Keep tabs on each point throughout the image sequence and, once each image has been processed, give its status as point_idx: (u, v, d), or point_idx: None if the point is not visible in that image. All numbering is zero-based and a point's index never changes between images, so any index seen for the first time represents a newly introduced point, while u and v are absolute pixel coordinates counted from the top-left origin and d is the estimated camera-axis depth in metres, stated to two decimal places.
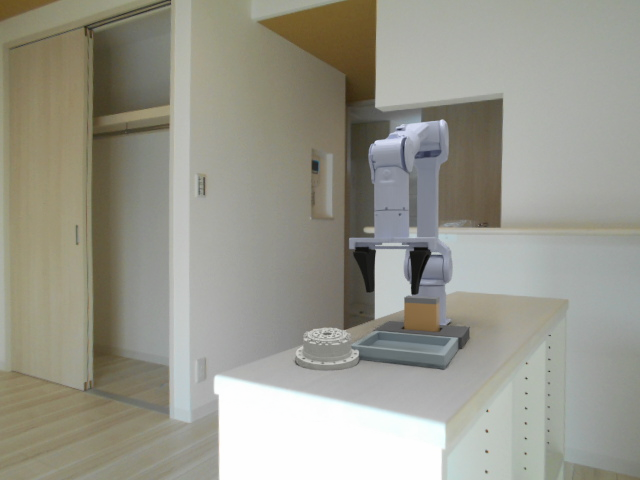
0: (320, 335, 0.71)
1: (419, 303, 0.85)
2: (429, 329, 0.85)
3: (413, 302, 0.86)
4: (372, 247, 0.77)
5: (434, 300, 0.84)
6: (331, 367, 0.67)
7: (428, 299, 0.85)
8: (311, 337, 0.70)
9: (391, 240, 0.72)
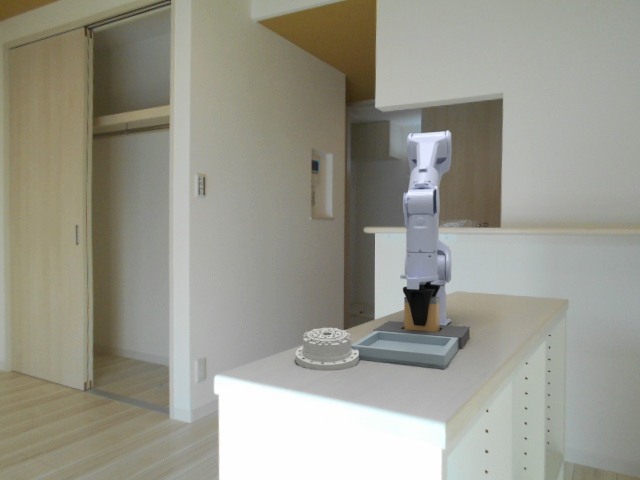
0: (320, 335, 0.71)
1: None
2: (429, 329, 0.85)
3: None
4: None
5: (434, 300, 0.84)
6: (331, 367, 0.67)
7: None
8: (311, 337, 0.70)
9: (402, 277, 0.87)
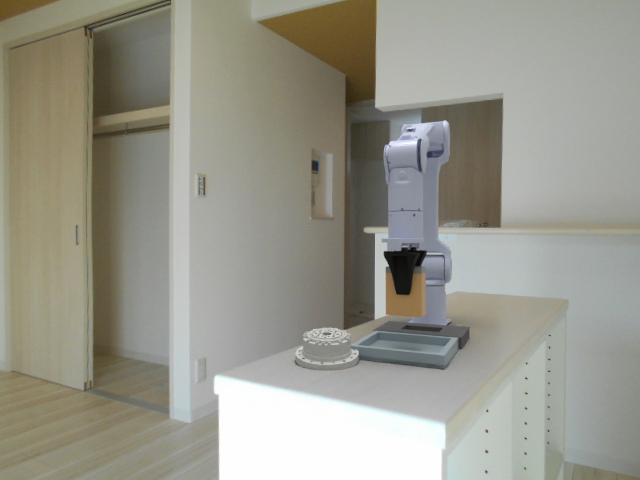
0: (320, 335, 0.71)
1: None
2: (413, 302, 0.74)
3: None
4: (408, 247, 0.79)
5: (419, 269, 0.74)
6: (331, 367, 0.67)
7: None
8: (311, 337, 0.70)
9: (383, 241, 0.77)
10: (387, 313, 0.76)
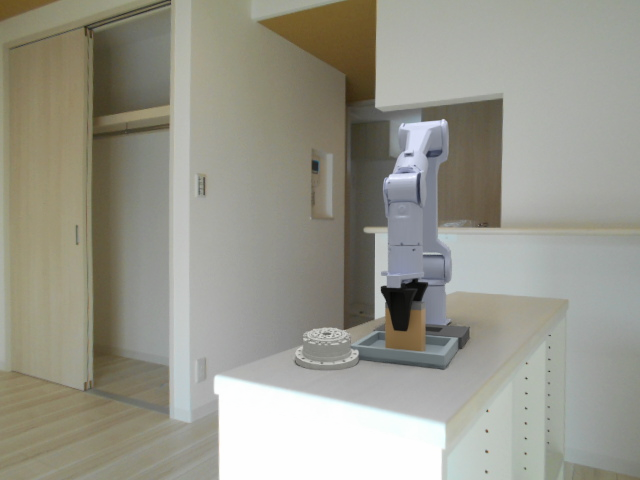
0: (320, 335, 0.71)
1: None
2: (413, 338, 0.74)
3: None
4: None
5: (419, 305, 0.73)
6: (331, 367, 0.67)
7: (412, 304, 0.74)
8: (310, 337, 0.70)
9: (383, 274, 0.76)
10: None
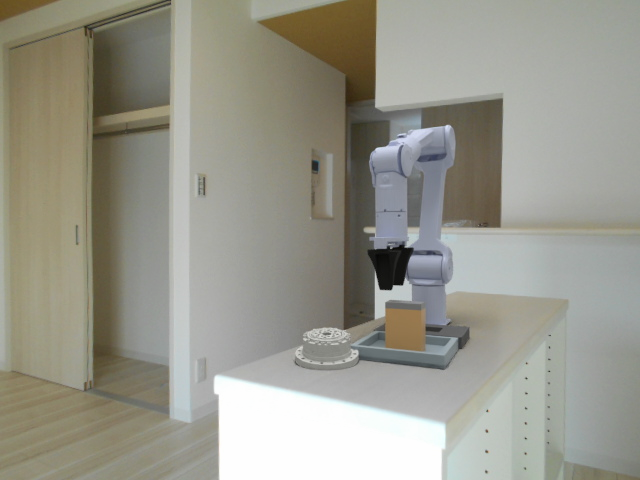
0: (319, 335, 0.71)
1: (402, 309, 0.75)
2: (413, 338, 0.74)
3: (395, 308, 0.75)
4: None
5: (419, 305, 0.73)
6: (330, 367, 0.67)
7: (412, 304, 0.74)
8: (310, 337, 0.70)
9: (371, 239, 0.83)
10: None
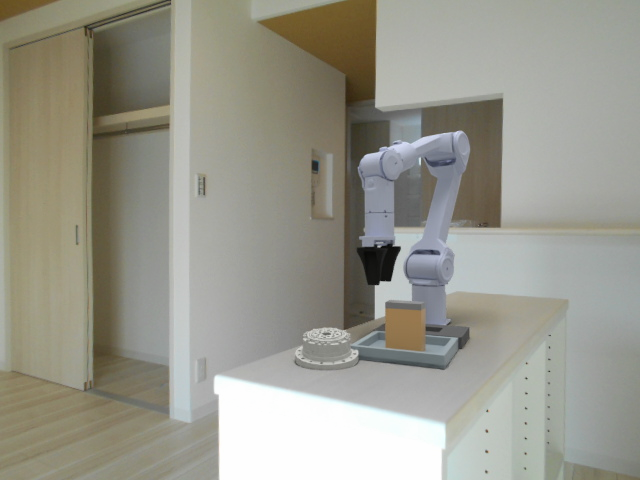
0: (319, 335, 0.71)
1: (402, 309, 0.75)
2: (413, 338, 0.74)
3: (395, 308, 0.75)
4: None
5: (419, 305, 0.73)
6: (330, 367, 0.67)
7: (412, 304, 0.74)
8: (310, 337, 0.70)
9: (360, 238, 0.90)
10: None
